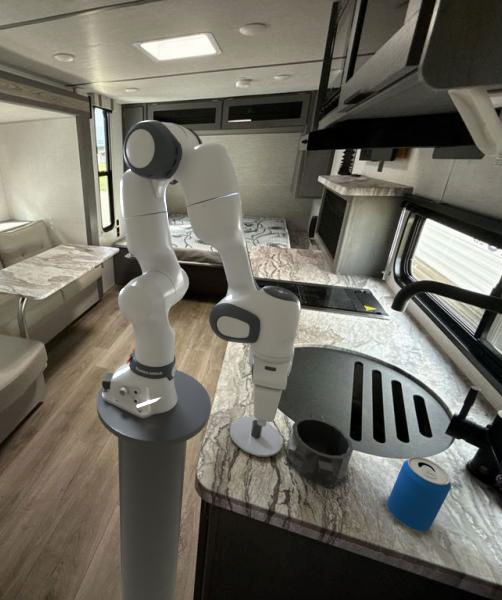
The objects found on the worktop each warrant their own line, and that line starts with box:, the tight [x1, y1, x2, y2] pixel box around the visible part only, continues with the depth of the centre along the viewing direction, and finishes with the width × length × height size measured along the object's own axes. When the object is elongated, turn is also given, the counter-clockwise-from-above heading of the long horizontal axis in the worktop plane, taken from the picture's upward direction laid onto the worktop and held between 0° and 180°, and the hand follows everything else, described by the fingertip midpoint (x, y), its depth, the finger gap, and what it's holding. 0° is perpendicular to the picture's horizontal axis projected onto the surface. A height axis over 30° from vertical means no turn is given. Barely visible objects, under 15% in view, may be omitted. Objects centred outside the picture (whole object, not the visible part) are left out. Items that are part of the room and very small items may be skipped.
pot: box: [286, 412, 355, 486], centre depth 68 cm, size 12×17×7 cm
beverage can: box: [386, 455, 452, 532], centre depth 56 cm, size 6×6×12 cm
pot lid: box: [229, 416, 283, 458], centre depth 75 cm, size 12×12×5 cm
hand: (262, 410), depth 73 cm, fingers open, 8 cm apart
